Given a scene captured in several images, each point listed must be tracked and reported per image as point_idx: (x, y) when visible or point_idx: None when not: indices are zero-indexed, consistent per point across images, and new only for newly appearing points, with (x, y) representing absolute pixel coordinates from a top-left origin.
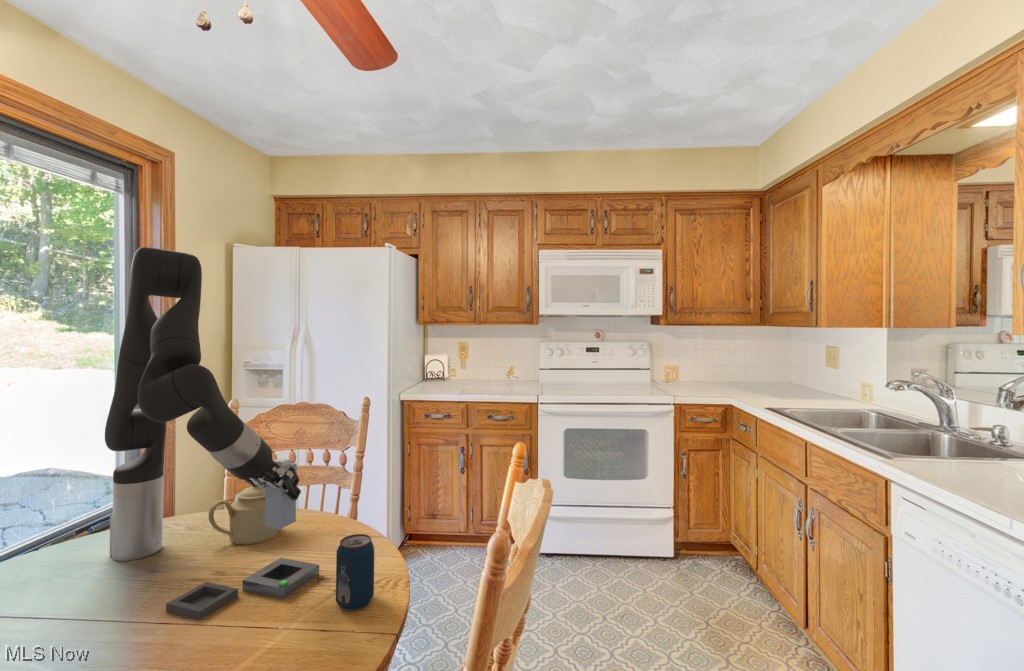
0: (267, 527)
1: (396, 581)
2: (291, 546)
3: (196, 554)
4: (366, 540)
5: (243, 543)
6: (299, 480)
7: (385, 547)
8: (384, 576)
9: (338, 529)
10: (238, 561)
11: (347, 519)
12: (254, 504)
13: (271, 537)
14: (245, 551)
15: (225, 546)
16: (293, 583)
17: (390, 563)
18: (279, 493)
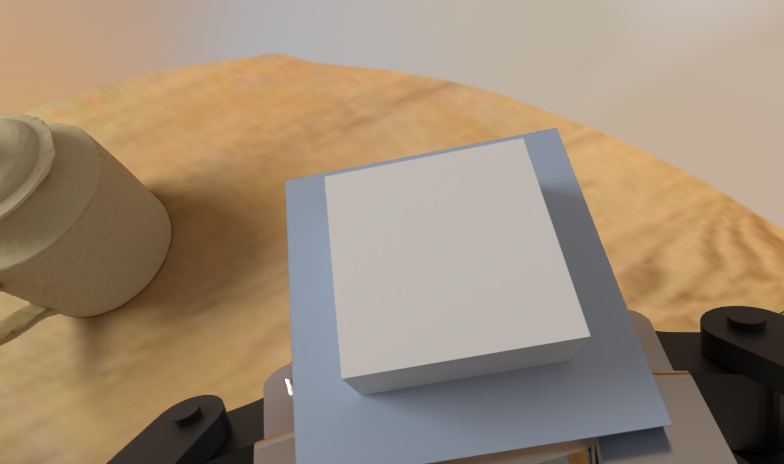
0: (144, 233)
1: (760, 230)
2: (271, 240)
3: (17, 430)
4: None
5: (116, 306)
6: (779, 319)
7: (535, 111)
8: (699, 227)
9: (315, 107)
10: (191, 391)
11: (290, 58)
12: (38, 218)
13: (170, 236)
14: (159, 333)
15: (70, 343)
16: (566, 458)
17: (638, 166)
18: (550, 456)
